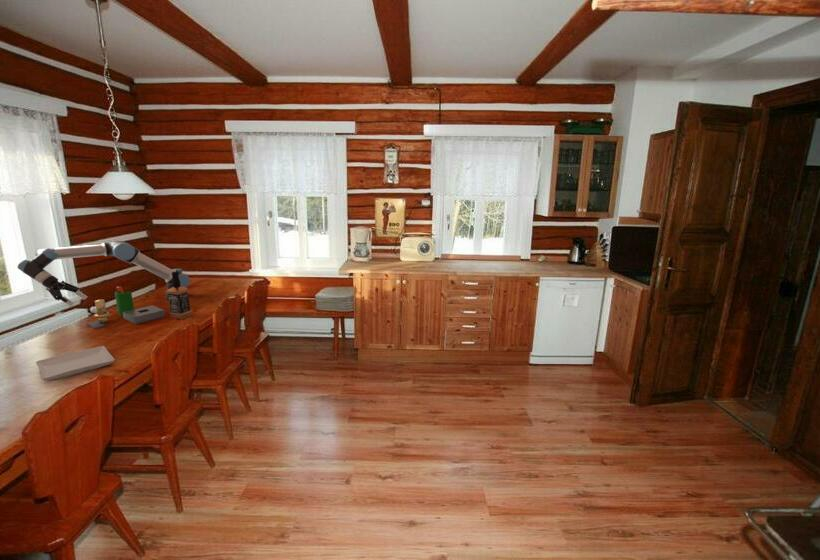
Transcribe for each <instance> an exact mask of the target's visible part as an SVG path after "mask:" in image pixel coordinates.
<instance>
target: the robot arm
mask: <svg viewBox="0 0 820 560" xmlns="http://www.w3.org/2000/svg"><path fill="white" fill-rule="evenodd" d="M99 256H104V257H115V258H116V259H118V260H121V261H123V262H125V263H127V264H134V265H136V266H137V267H140V268H142V269H144V270H146V271H148V272H149V273H151V274H154V275H156V276H157V277H160V278H162V279H163V280H164V281H165V283H166V292H165V299H166V300H168V301H169V297H168V294H167V290H169V289H170V288H172V287H173V284H172V280H173V277H172V272H178V275H179V280H180V285H181V286H182V287H185V288H188V286H189V285H190V282H191V279H190V277H189V276H188V274H187V273H183V270H182V269H181V268H172V269H171V268H169V267H168V266H166V265H164V264H162V263H161V262H158V261H157V260H155V259H153V258H151V257H149V256H146V255H145V254H143V253H141V251H140V249H139V248H137V247H135V246H133V245H132V244H130V243H128V242H125V241H122V240H115V241H110V242H102V243H100V244H91V245H78V246H65V247H54V248H50V247H45V248H44V247H43V248H39V249H37V250H36V251H35V257H33V258H32V259H29V258H27V259H26V258H25V259H24V260H22V261H20V262H19V263H18V265H17V269H18V270H19V271H21V272H22V273H23V274H25V275H27V276H29V277H30V278H31V279H32V280H35V281H36V283H39V284H41V285H42V286H44V287H45V290H46V291H48V292H49V294H50V295H51V296H52V297H53V299H54V300H55V301H56V300H57V301H61V302H63V303H65V304H67V305H68V306H69V307H72V306H73V305H74V304H75V302H74V301H72V300H71V299H70V298H68V297H66V296H65V295H64V296H63V294H62V292H61V291H67V292H71V293H74V294H75V295H76V296H78V297H79V298H81V299H82V300H84V301H85V300H86V299H87V298H88V296H87V295H86V294H84V293H83V292H82V291H81V290H80V287H78V286H76V285H73V284H71V283H68V282H66V281H65V280H61V282H60V281H59V279H58V278H57V277H56V276H54V275H52V273H50V272H49V271H48V270H45V268H46V267H47V266H48V265H50V264H51V263H53V262H54V261H55V260H63V259H64V260H65V259H74V258H87V257H99Z"/></svg>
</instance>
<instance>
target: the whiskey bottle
mask: <svg viewBox="0 0 820 560" xmlns="http://www.w3.org/2000/svg"><path fill="white" fill-rule="evenodd" d="M172 277H173V280H172V284H173V287H172V288H170V289H169V290H167V289H166V292H167V294H168V297H169V300H168V305H169V311H170V312H169V317H170V318H174V319H175V320H176V321H183V320H186V319H188V318H191V317H193V313H192V310H191V305H190V300H189V299H190V298H189V294H188V293H189V290H188V287H186V288H185V287H182V286H181V285H180V280H179V275H178V272H172Z"/></svg>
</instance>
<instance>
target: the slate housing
mask: <svg viewBox="0 0 820 560" xmlns="http://www.w3.org/2000/svg"><path fill="white" fill-rule="evenodd" d="M165 317H166V312H165V309H163V308H162V307H161V308H160V307H158V306H155V305H153V304H151V305H147V306H143V307H138V308H134V309H133V310H129V311H124V312H123V314H122V318H123V319H124V320H126V321H128V322H130V323H132V324H135V325H136V324H141V323H146V322H149V321H150V322H151V321H153V320H158V319H161V318H165Z"/></svg>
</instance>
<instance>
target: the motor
mask: <svg viewBox="0 0 820 560" xmlns="http://www.w3.org/2000/svg"><path fill="white" fill-rule="evenodd" d="M114 297H115V303H116V309H117V315H119V316H120V315H123V312H124V311H129V310H133V309H135V307H134V301H133V294H132V291H127V292H125V291H124V289H123V287H122V286H116V287H115V291H114Z"/></svg>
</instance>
